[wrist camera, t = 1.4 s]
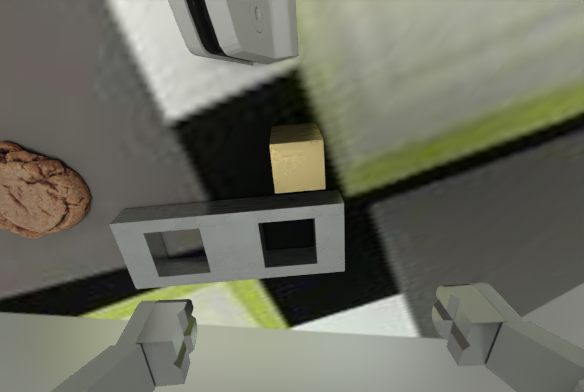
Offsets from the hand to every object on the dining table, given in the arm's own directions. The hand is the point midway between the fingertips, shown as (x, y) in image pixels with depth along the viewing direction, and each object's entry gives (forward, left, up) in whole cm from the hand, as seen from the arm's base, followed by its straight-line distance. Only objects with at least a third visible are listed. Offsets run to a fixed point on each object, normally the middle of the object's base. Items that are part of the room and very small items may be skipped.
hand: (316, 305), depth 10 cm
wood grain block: (0, 0, -20) cm, 20 cm away
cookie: (+26, +2, -21) cm, 33 cm away
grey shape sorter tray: (+7, +9, -20) cm, 23 cm away
